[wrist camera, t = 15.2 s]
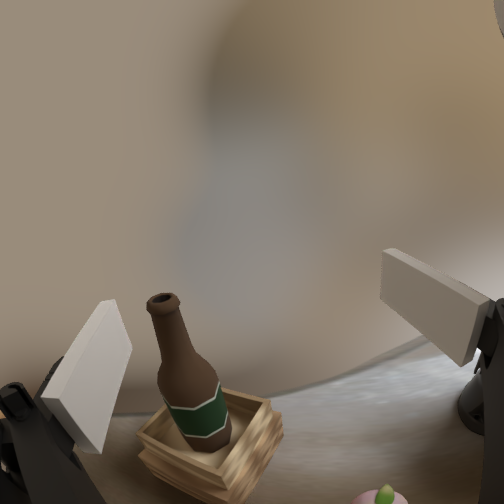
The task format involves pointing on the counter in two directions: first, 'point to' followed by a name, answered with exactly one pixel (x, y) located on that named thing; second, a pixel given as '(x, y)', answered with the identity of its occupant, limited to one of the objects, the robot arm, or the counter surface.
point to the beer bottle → (188, 380)
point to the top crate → (225, 459)
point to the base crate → (217, 498)
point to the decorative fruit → (380, 497)
